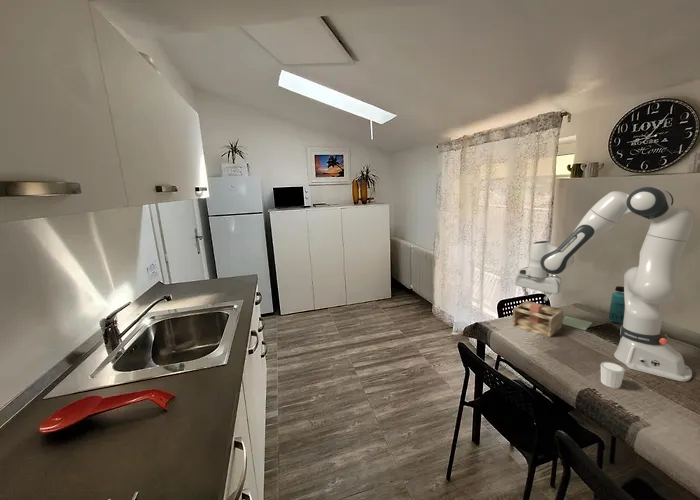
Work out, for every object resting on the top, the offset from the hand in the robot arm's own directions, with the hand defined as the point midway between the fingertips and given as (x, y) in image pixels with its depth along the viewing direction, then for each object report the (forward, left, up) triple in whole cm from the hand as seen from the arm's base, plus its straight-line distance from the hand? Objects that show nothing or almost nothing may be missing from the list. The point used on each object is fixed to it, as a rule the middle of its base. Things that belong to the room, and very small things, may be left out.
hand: (535, 297), depth 155 cm
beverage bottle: (-26, -36, -17) cm, 48 cm away
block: (0, 0, -13) cm, 13 cm away
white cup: (-37, +28, -17) cm, 50 cm away
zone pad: (-12, -21, -17) cm, 30 cm away
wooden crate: (0, -3, -17) cm, 17 cm away
